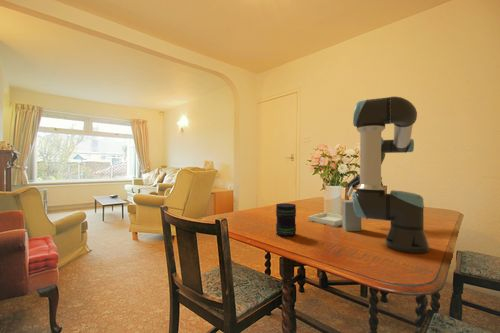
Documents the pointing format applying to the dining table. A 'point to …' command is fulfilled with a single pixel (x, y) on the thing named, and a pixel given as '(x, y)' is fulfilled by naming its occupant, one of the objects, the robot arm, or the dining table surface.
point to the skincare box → (350, 217)
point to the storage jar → (286, 220)
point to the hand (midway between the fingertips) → (360, 197)
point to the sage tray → (327, 219)
